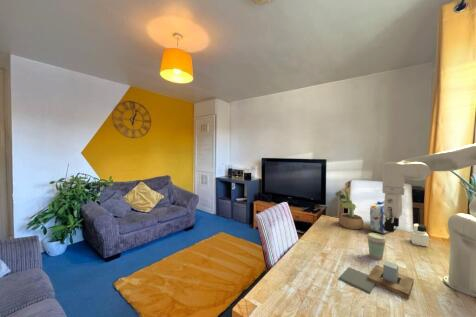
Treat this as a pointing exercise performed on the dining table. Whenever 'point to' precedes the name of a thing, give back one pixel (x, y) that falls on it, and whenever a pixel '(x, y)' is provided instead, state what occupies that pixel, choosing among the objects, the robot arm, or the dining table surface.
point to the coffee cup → (376, 245)
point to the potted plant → (349, 219)
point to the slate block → (390, 272)
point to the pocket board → (400, 289)
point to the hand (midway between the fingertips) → (391, 228)
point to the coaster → (357, 279)
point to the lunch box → (378, 217)
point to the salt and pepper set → (419, 235)
